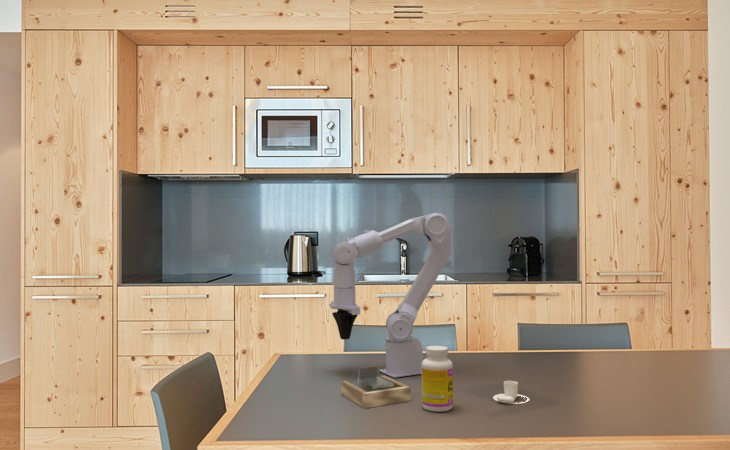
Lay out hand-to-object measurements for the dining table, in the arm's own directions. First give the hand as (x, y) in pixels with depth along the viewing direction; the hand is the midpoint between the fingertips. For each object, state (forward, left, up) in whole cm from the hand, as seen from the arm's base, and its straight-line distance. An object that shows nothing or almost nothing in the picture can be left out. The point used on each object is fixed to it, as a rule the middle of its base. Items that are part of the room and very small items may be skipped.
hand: (345, 338), depth 155 cm
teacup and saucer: (-21, +37, -10) cm, 43 cm away
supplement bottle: (-5, +36, -10) cm, 38 cm away
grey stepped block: (+3, +23, -9) cm, 25 cm away
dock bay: (+3, +22, -9) cm, 24 cm away
